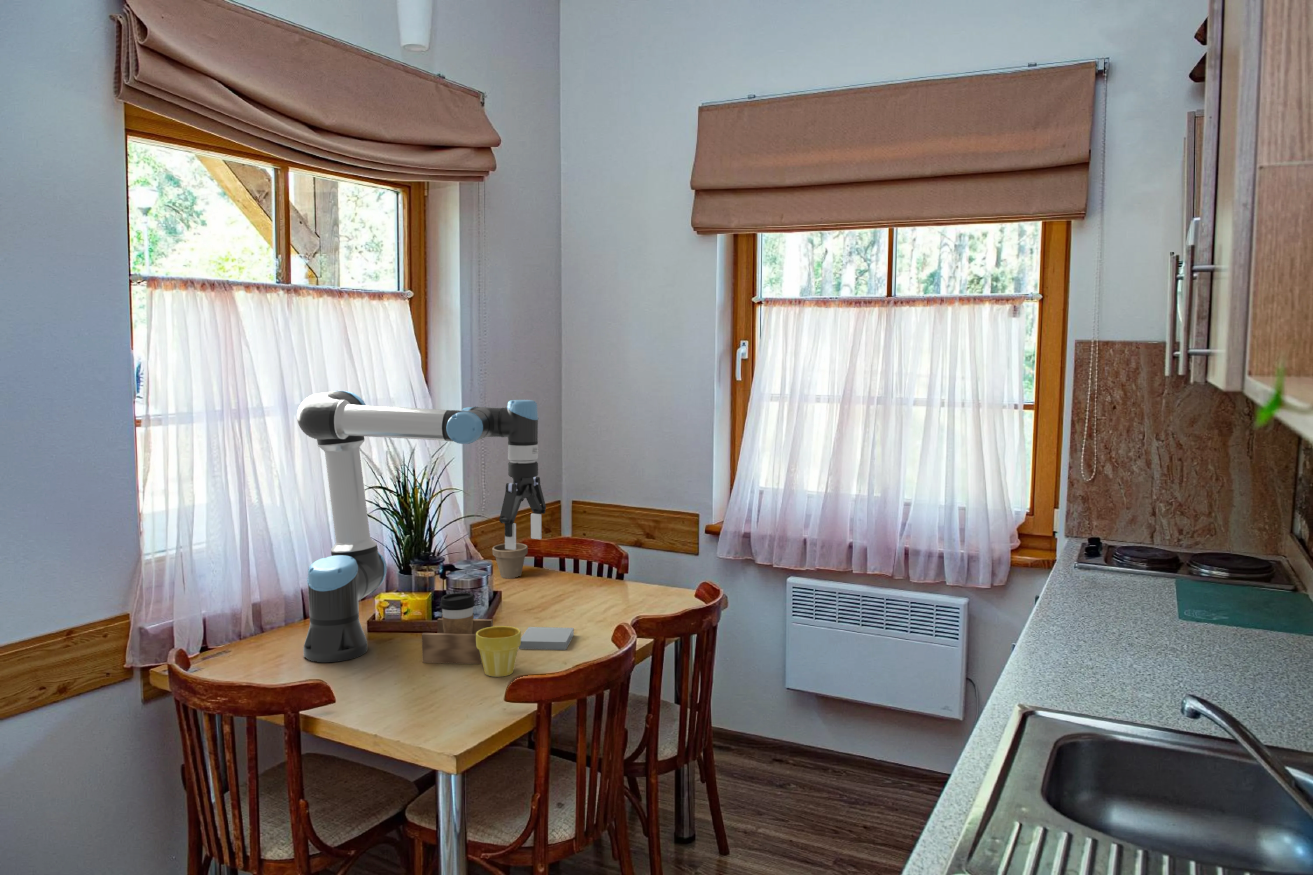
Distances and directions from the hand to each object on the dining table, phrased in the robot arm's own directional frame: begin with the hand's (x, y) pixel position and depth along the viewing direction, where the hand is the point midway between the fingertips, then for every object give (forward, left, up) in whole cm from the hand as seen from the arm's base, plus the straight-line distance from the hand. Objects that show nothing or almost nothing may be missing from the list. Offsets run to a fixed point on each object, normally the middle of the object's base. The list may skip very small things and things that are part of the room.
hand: (523, 543), depth 243 cm
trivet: (+5, +1, -26) cm, 26 cm away
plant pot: (-1, -22, -26) cm, 34 cm away
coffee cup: (-15, -10, -26) cm, 32 cm away
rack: (-15, -10, -26) cm, 31 cm away
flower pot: (-20, +68, -26) cm, 75 cm away
